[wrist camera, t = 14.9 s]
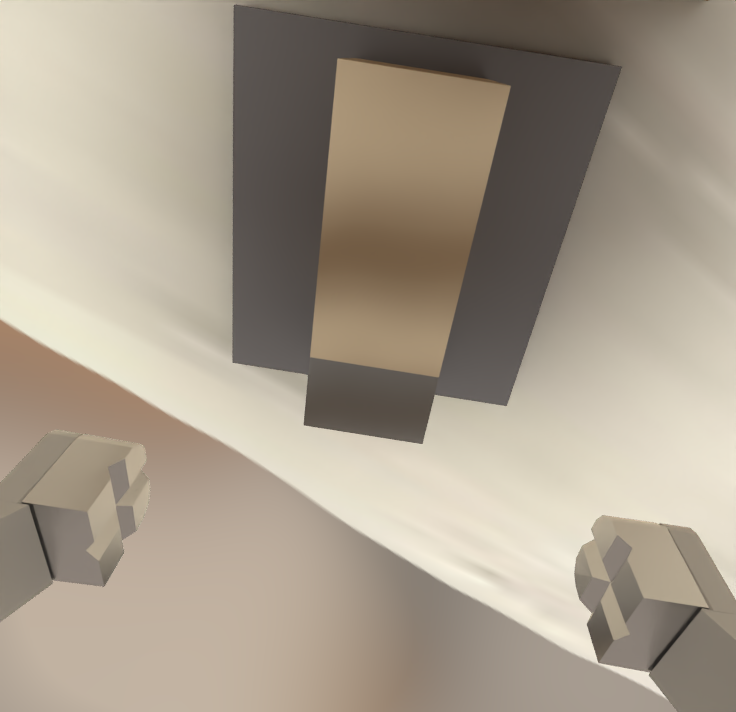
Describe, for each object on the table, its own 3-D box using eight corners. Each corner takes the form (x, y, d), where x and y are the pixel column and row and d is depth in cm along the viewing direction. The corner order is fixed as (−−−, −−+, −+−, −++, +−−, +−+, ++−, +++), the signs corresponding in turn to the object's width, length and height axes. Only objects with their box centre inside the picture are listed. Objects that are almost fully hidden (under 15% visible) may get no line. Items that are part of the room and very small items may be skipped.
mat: (242, 7, 18) (233, 4, 17) (611, 66, 18) (621, 66, 17) (238, 351, 25) (232, 362, 24) (503, 394, 25) (506, 406, 24)
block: (356, 58, 17) (337, 58, 13) (487, 78, 17) (511, 86, 13) (323, 357, 24) (303, 425, 19) (420, 373, 24) (422, 443, 19)
